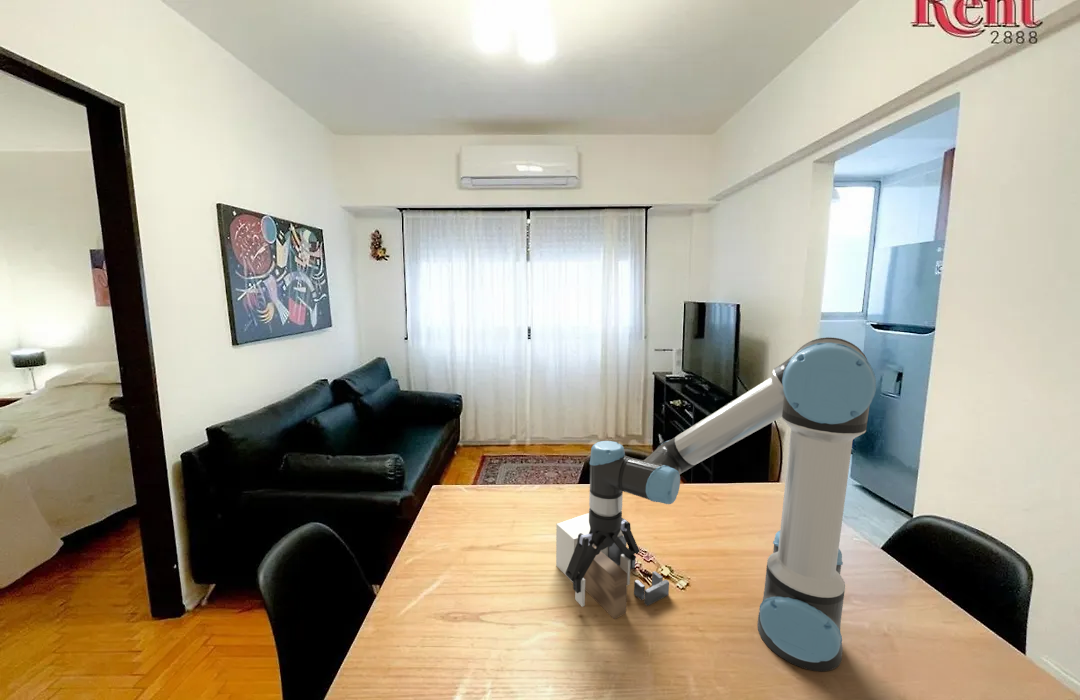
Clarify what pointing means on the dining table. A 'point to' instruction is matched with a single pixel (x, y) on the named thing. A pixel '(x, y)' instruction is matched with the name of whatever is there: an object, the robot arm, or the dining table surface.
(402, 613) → the dining table surface
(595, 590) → the door
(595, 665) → the dining table surface
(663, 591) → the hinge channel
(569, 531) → the cabinet
